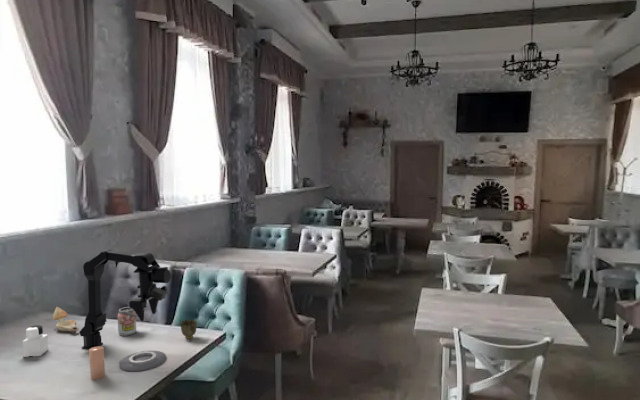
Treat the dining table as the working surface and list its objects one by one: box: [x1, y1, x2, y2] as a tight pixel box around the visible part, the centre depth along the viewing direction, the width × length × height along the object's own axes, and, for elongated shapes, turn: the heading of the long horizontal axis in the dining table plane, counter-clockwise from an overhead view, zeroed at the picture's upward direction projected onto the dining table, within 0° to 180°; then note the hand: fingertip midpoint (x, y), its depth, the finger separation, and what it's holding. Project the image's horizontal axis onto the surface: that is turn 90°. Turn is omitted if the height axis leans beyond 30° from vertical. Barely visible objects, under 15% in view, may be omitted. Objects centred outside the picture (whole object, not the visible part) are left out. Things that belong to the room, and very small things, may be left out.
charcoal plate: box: [118, 350, 167, 373], centre depth 184 cm, size 18×18×1 cm
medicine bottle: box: [21, 324, 49, 358], centre depth 194 cm, size 7×7×12 cm
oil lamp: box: [52, 306, 79, 333], centre depth 222 cm, size 9×21×10 cm, turn 51°
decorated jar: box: [117, 306, 138, 337], centre depth 216 cm, size 9×8×12 cm
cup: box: [179, 319, 198, 341], centre depth 207 cm, size 8×7×8 cm
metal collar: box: [129, 350, 156, 366], centre depth 184 cm, size 11×11×1 cm
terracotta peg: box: [88, 345, 106, 381], centre depth 171 cm, size 5×5×11 cm
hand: (148, 317), depth 195 cm, fingers open, 9 cm apart
